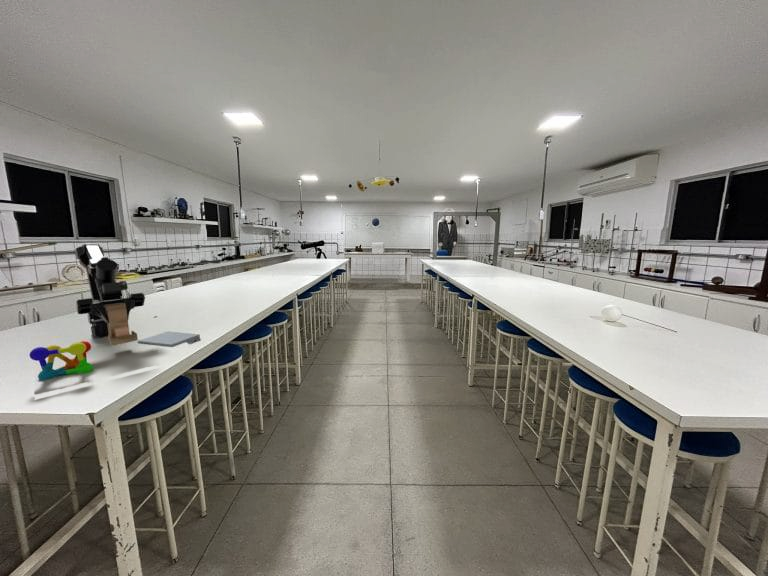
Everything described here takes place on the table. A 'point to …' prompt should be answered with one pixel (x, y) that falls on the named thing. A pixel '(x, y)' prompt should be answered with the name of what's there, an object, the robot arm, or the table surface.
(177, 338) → the plate
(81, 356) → the molecular model
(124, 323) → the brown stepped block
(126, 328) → the block
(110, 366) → the table surface
